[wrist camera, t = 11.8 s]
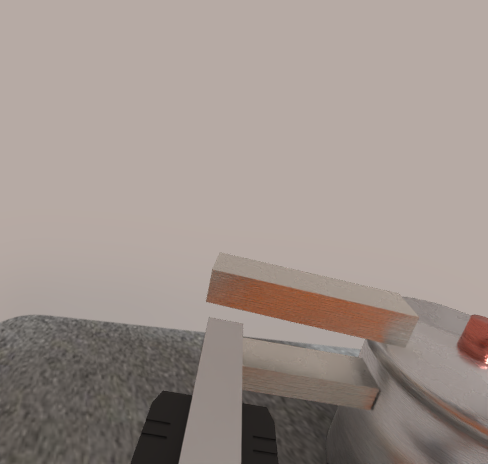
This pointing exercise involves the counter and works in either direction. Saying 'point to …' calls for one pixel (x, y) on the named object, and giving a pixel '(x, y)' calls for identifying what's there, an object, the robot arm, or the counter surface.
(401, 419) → the cooker pot
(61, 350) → the counter surface
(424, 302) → the lid
